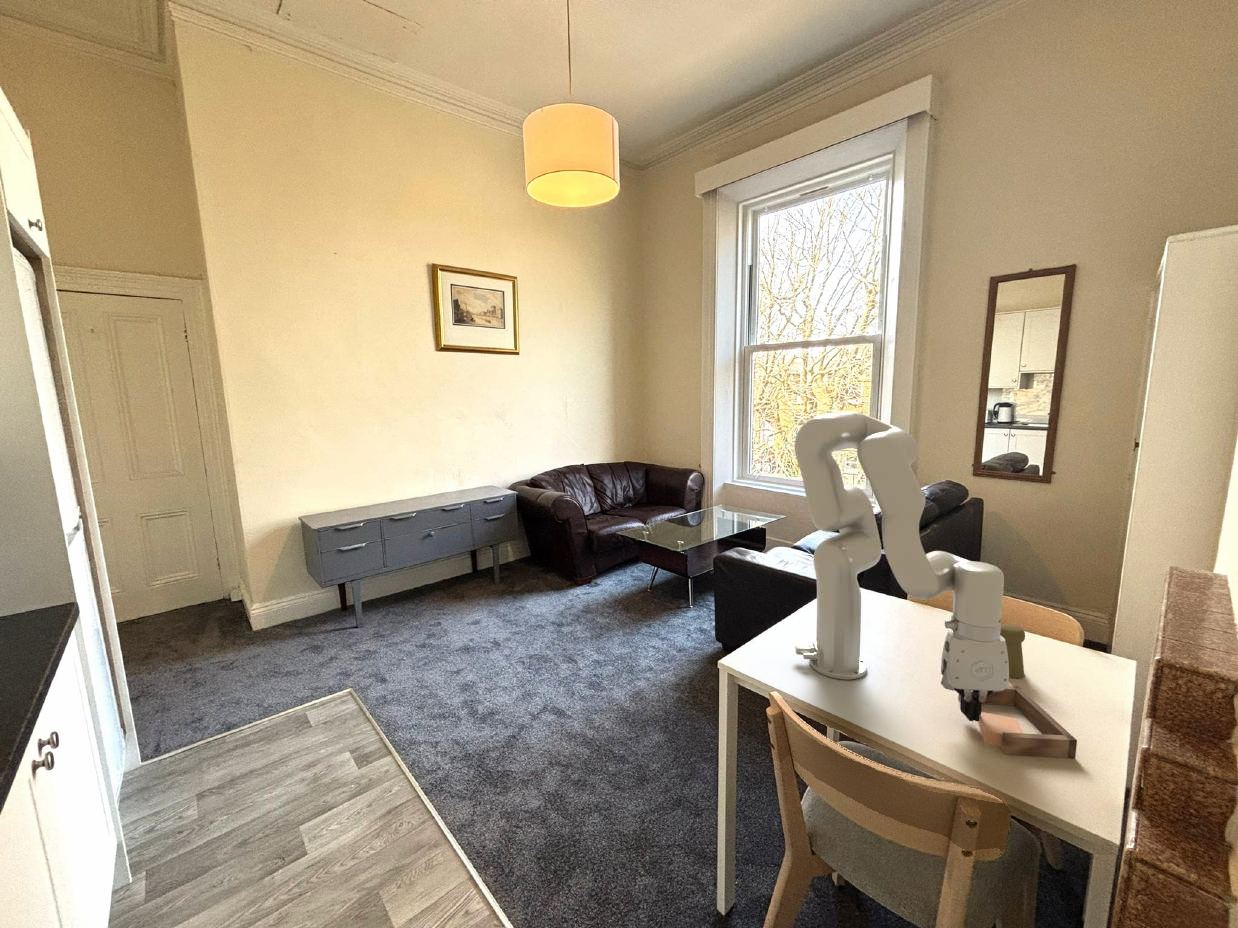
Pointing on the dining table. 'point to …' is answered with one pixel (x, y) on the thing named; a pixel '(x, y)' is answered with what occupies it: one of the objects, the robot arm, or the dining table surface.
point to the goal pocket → (1042, 745)
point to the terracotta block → (997, 727)
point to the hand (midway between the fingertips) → (970, 716)
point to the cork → (1014, 648)
